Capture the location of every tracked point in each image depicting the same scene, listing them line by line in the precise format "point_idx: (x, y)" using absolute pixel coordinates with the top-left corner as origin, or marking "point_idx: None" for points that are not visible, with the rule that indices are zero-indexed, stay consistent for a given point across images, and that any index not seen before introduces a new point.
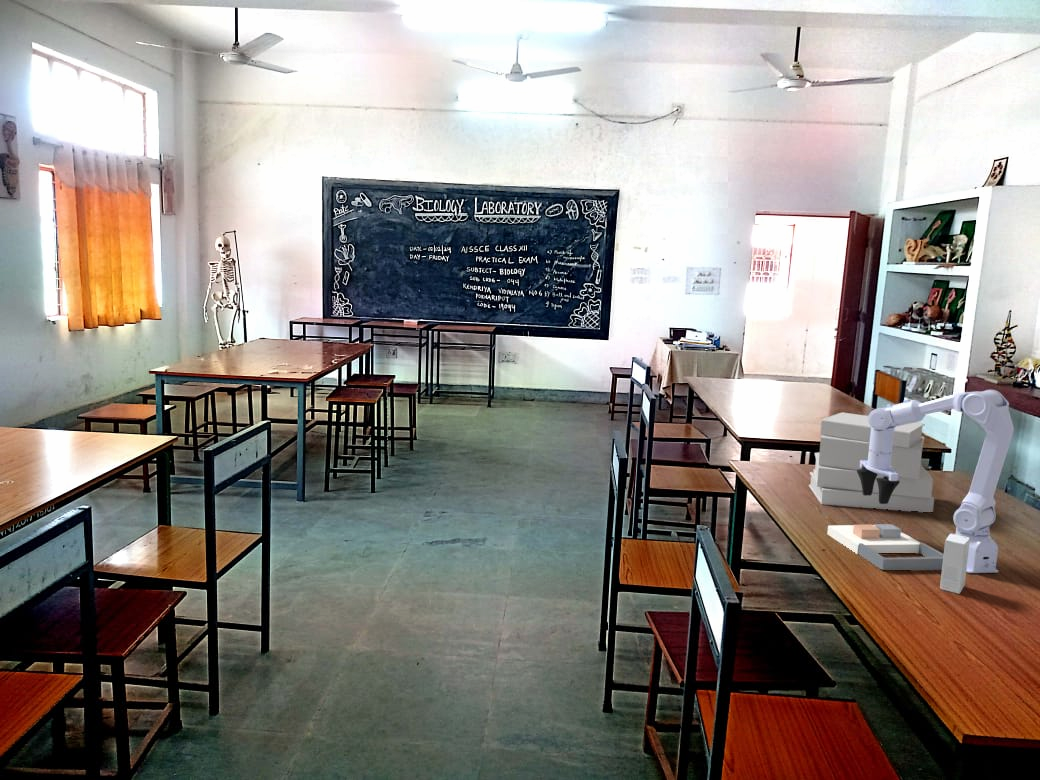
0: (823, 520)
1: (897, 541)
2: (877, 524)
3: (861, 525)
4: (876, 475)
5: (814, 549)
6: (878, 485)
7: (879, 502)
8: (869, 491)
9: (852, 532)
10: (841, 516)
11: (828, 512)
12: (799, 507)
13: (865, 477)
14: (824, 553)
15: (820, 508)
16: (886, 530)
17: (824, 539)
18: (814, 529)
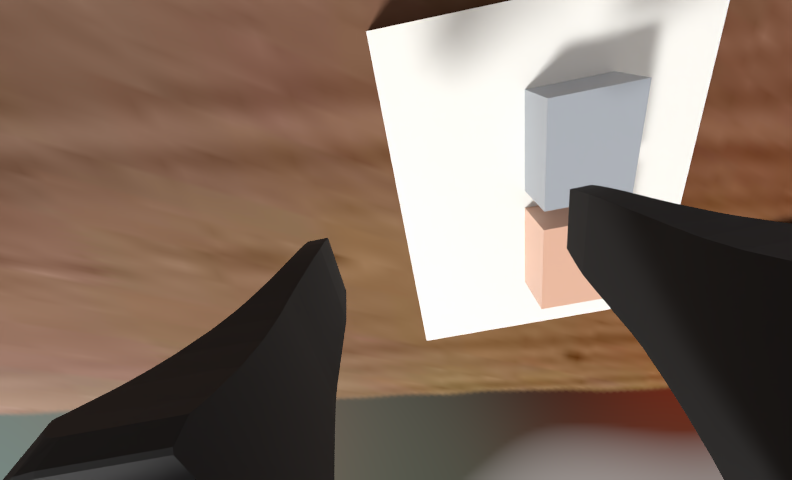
0: (241, 287)
1: (657, 112)
2: (545, 196)
3: (555, 280)
4: (244, 377)
5: (568, 375)
6: (702, 422)
7: (573, 253)
8: (329, 278)
9: (511, 279)
10: (130, 195)
11: (89, 238)
12: (80, 333)
13: (318, 460)
14: (603, 360)
15: (34, 256)
16: (630, 174)
17: (478, 334)
18: (373, 339)
